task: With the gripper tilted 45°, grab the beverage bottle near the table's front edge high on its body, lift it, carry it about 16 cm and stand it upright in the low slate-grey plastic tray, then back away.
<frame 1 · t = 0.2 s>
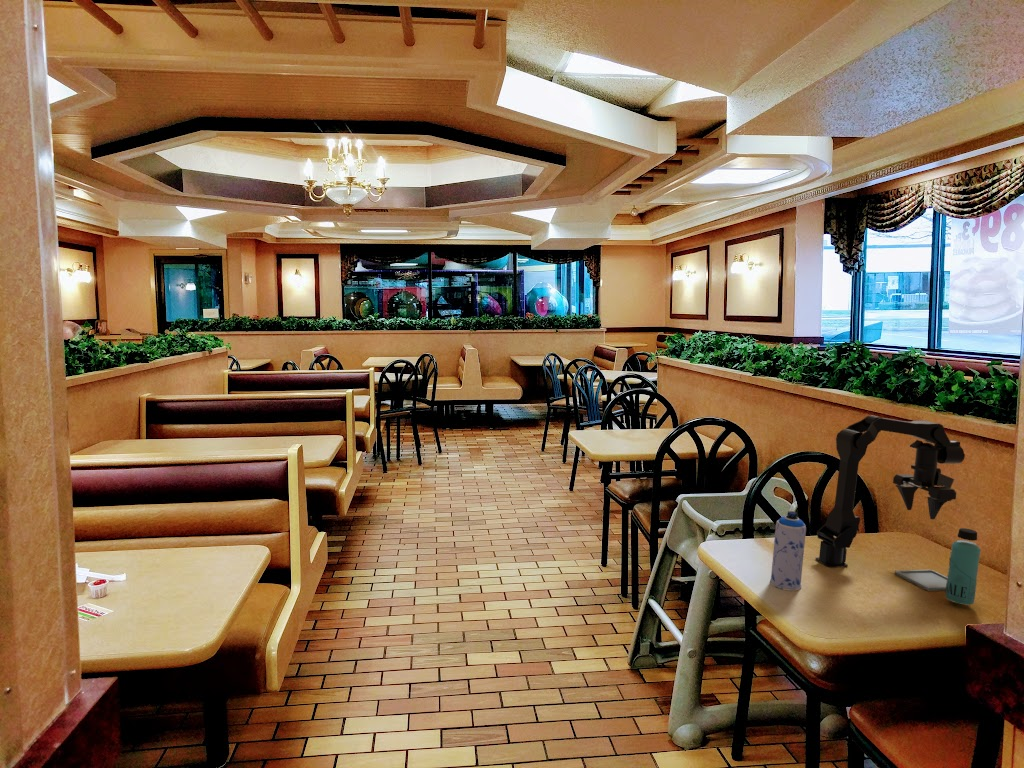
hand: (920, 514, 205), 15 cm above the table, tool pointing down, fingers open, 9 cm apart
tray: (929, 581, 191), on the table
aerosol can: (785, 585, 183), on the table
beverage bottle: (958, 606, 175), on the table
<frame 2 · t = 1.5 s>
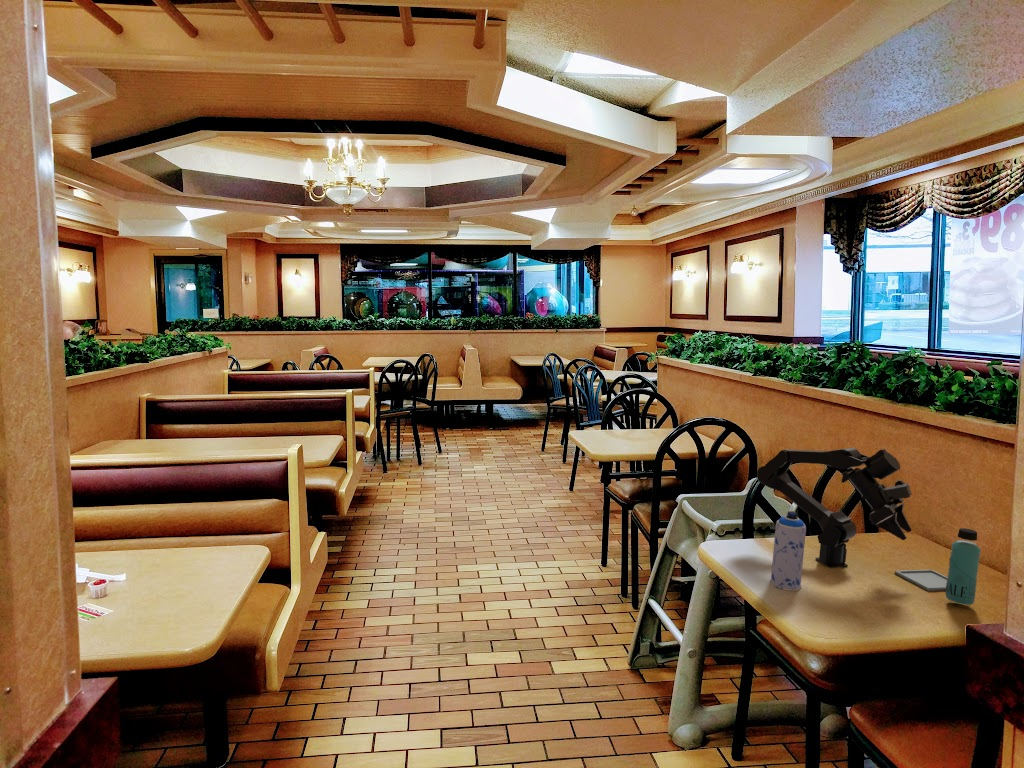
hand: (907, 535, 188), 13 cm above the table, tool tilted 45°, fingers open, 9 cm apart
nothing on the table moved.
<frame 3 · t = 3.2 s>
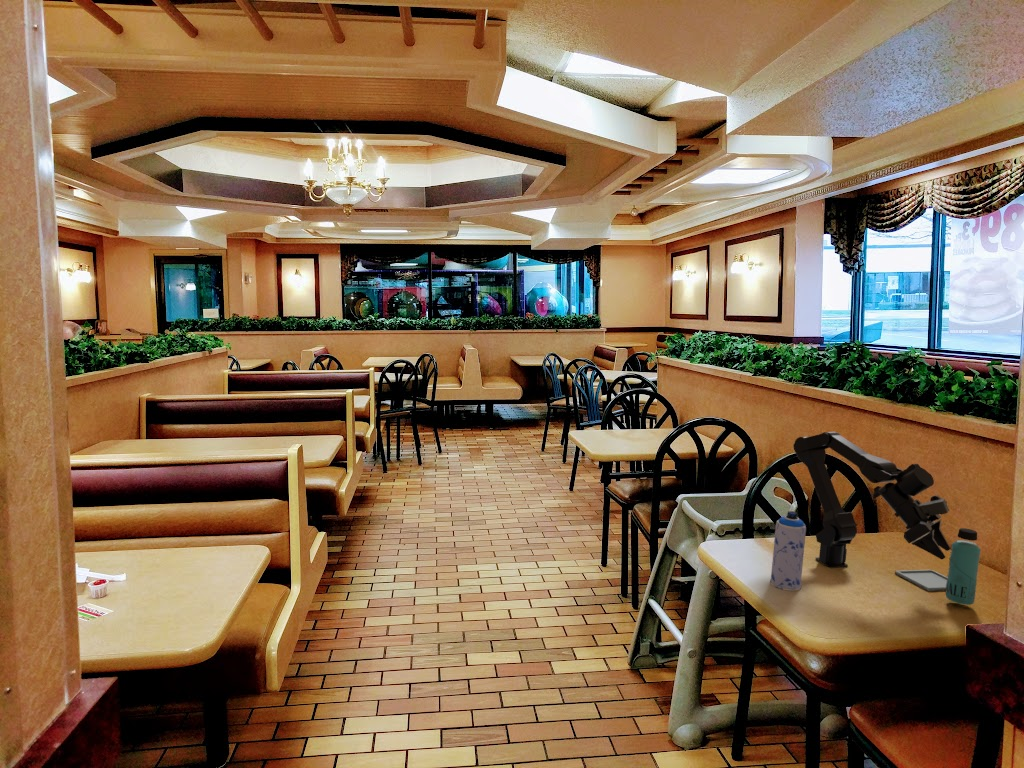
hand: (946, 554, 176), 13 cm above the table, tool tilted 45°, fingers open, 9 cm apart
nothing on the table moved.
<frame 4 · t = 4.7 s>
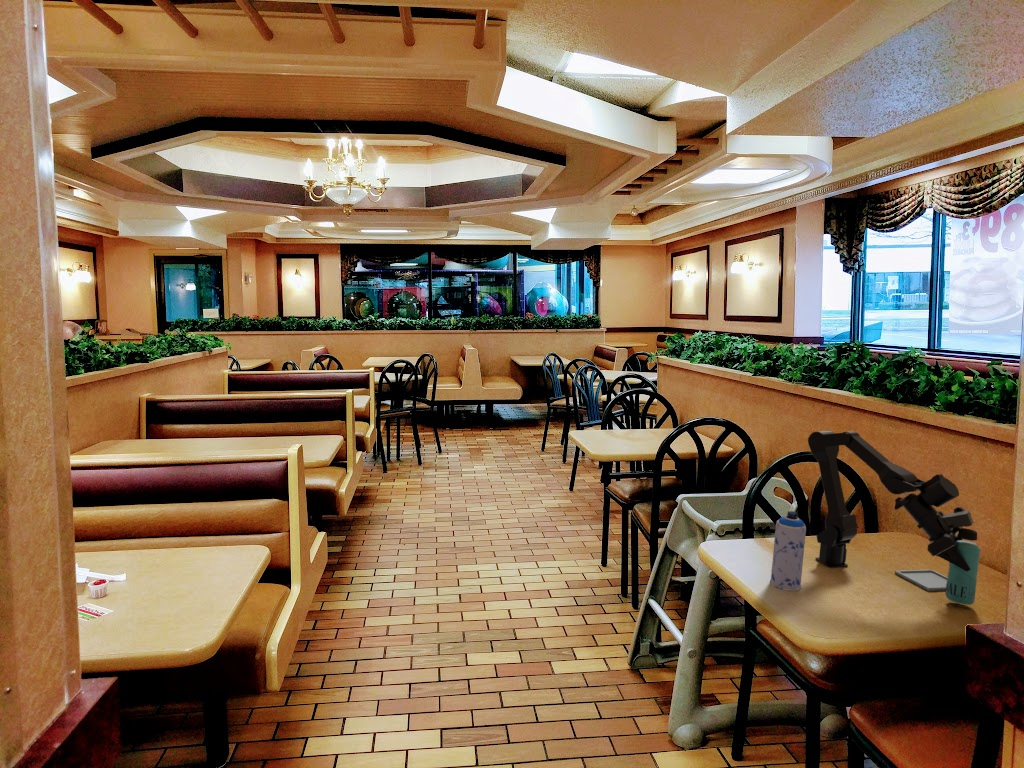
hand: (970, 566, 173), 11 cm above the table, tool tilted 45°, fingers closed on beverage bottle, 6 cm apart
beverage bottle: (958, 606, 175), on the table, touching gripper
everything else where it was.
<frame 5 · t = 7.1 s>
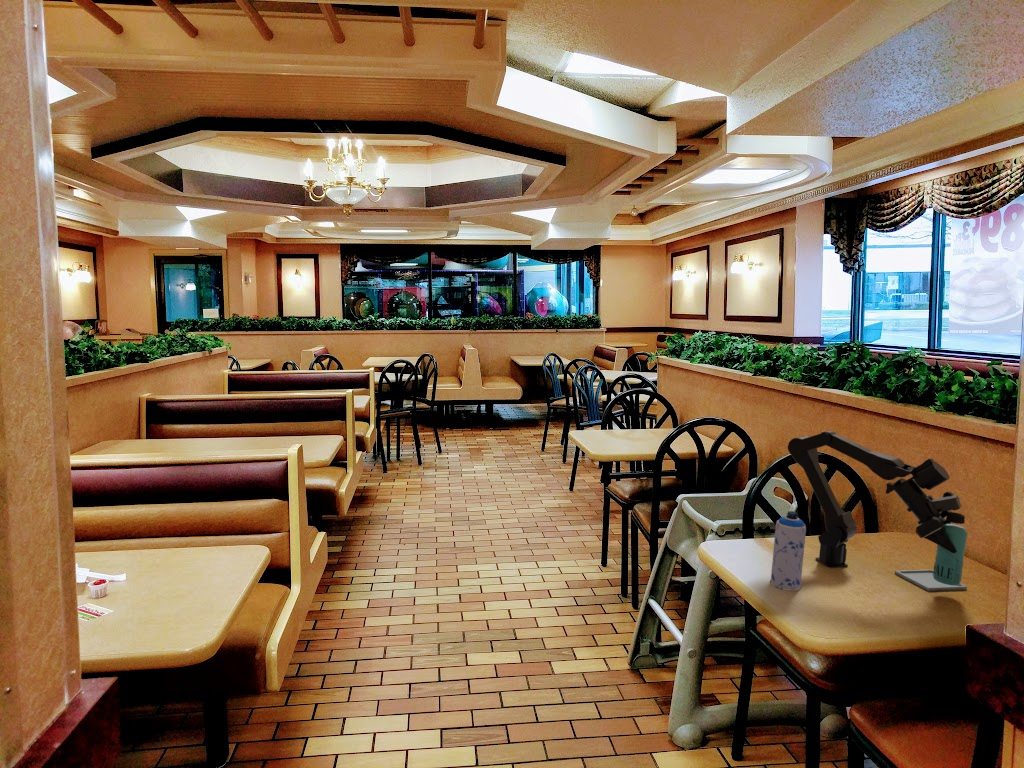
hand: (957, 549, 179), 13 cm above the table, tool tilted 45°, fingers closed on beverage bottle, 6 cm apart
beverage bottle: (945, 587, 181), point 2 cm above the table, touching gripper
everything else where it was.
when the fingers open (11 cm above the table, at t = 9.6 s): beverage bottle stays where it is, resting on tray.
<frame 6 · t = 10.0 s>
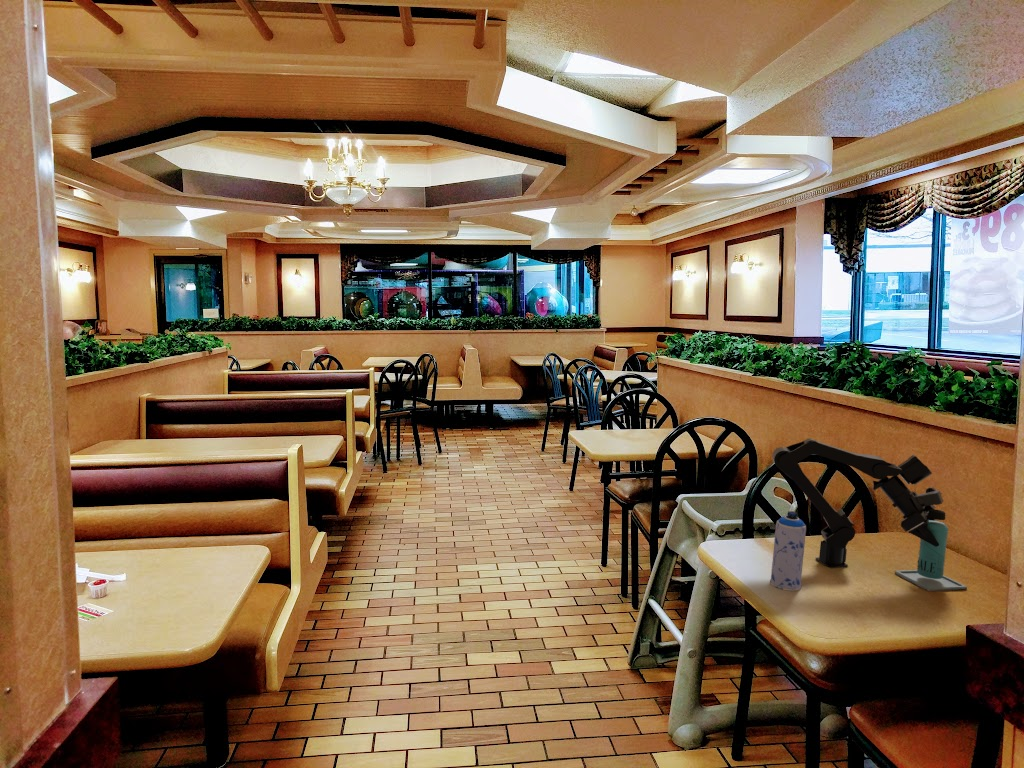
hand: (940, 542, 189), 12 cm above the table, tool tilted 45°, fingers open, 9 cm apart
beverage bottle: (929, 580, 191), resting on tray
everything else where it was.
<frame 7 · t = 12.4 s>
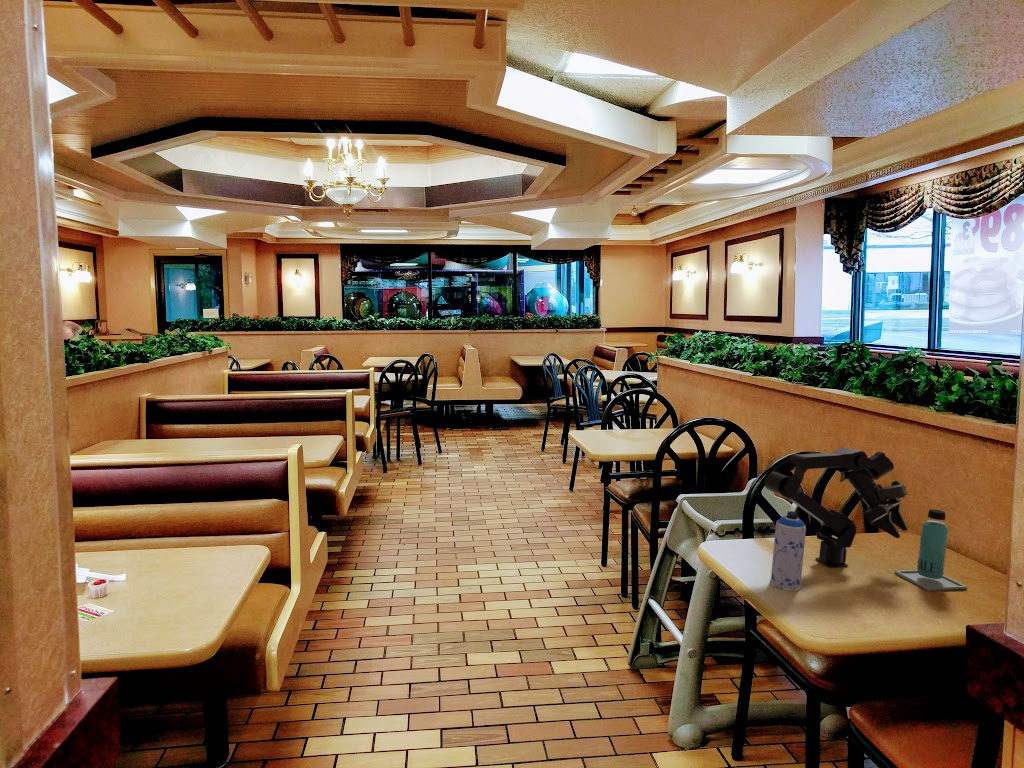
hand: (902, 533, 194), 12 cm above the table, tool tilted 45°, fingers open, 9 cm apart
nothing on the table moved.
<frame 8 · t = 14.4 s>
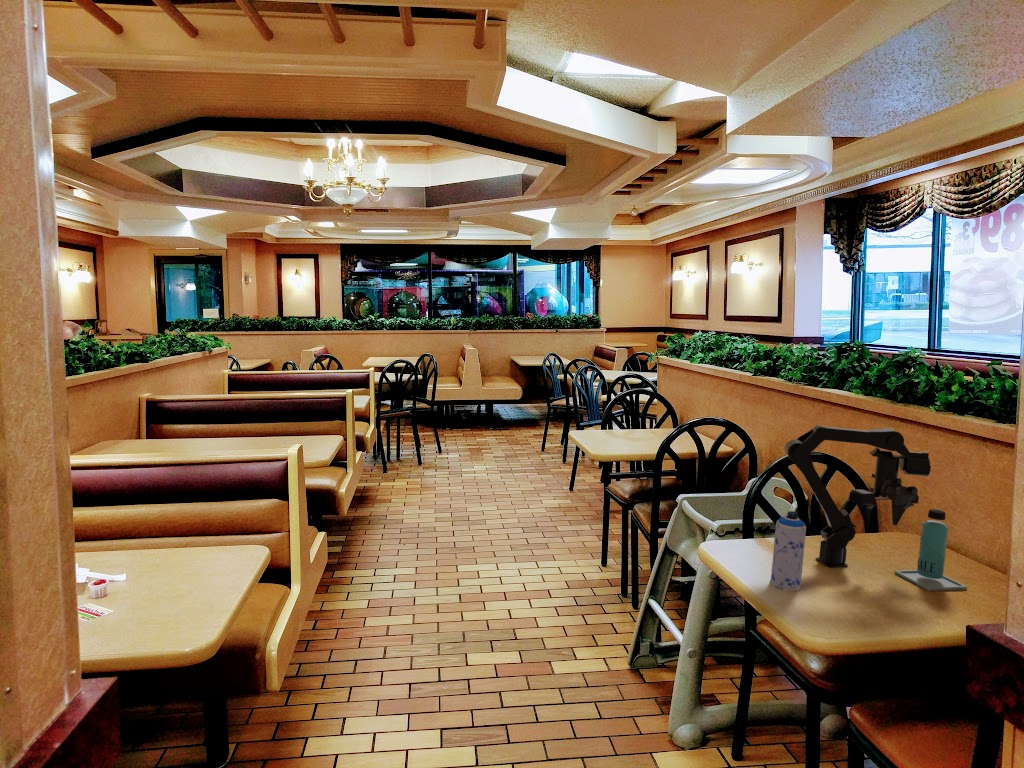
hand: (880, 525, 197), 13 cm above the table, tool pointing down, fingers open, 9 cm apart
nothing on the table moved.
at the end: beverage bottle inside the target area on the tray (0.2 cm from its centre), point 0.2 cm above the tray's base; beverage bottle tilted 0°; the gripper is holding nothing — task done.
